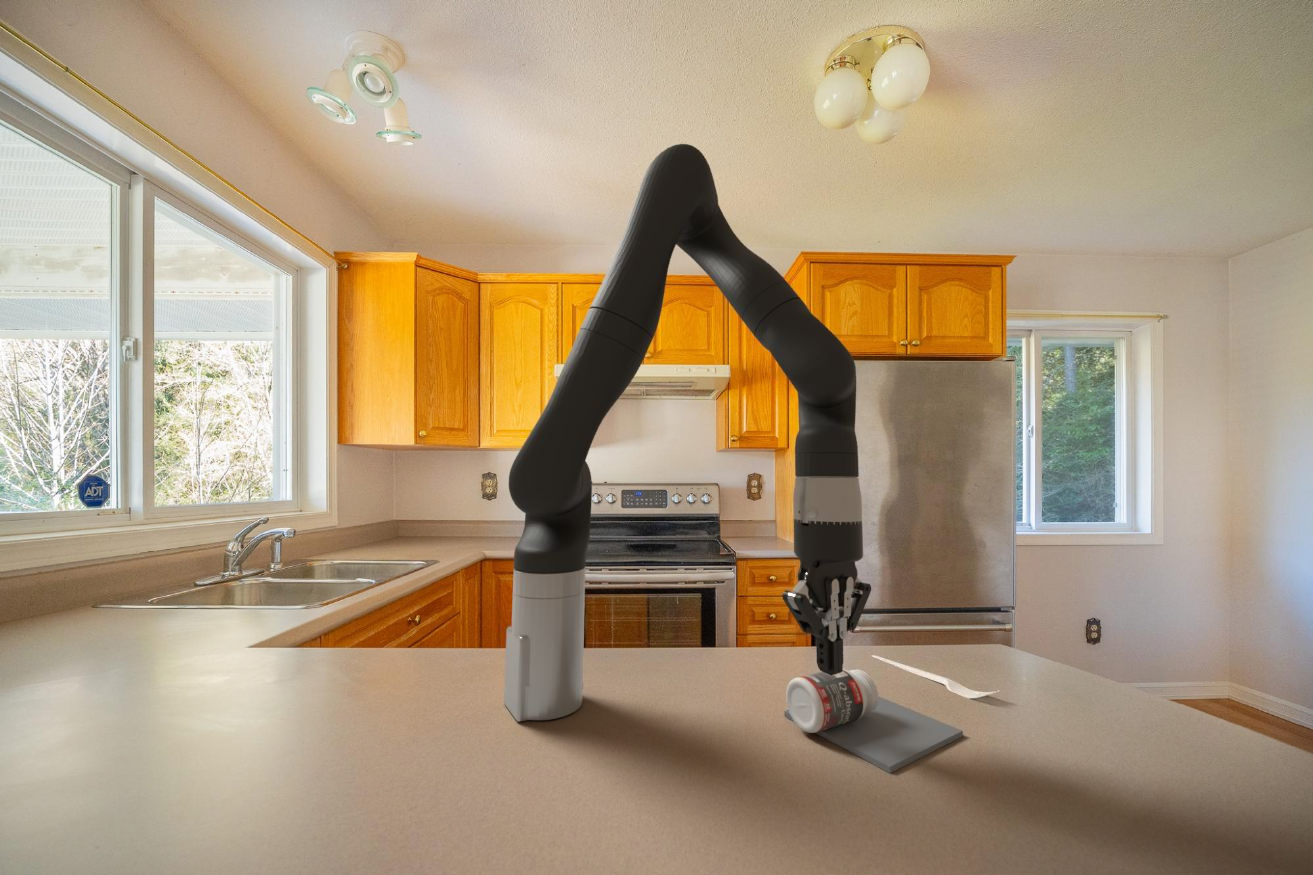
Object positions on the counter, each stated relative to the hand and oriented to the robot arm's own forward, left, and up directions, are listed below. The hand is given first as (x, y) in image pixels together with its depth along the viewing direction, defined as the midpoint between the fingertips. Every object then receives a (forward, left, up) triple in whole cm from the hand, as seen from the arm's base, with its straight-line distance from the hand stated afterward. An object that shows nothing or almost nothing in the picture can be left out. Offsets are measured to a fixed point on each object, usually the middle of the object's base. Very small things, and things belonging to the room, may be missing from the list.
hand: (830, 671), depth 56 cm
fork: (+28, +5, -8) cm, 29 cm away
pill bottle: (-2, +2, -4) cm, 5 cm away
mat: (+7, 0, -8) cm, 10 cm away
